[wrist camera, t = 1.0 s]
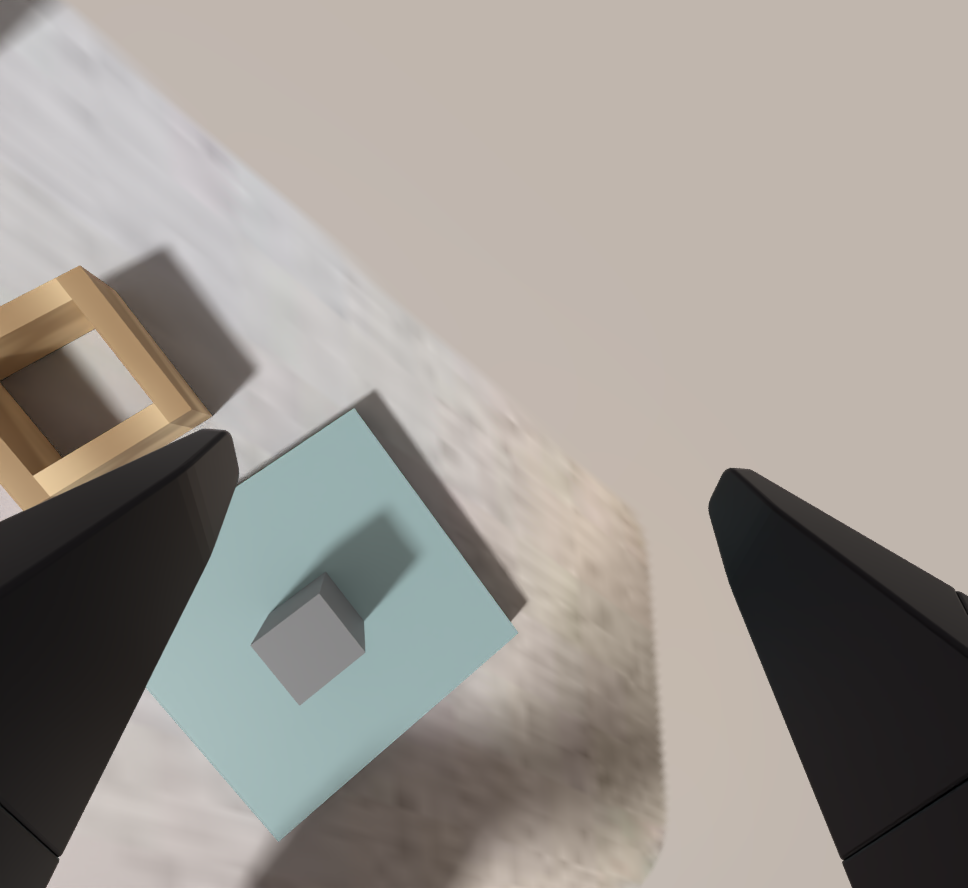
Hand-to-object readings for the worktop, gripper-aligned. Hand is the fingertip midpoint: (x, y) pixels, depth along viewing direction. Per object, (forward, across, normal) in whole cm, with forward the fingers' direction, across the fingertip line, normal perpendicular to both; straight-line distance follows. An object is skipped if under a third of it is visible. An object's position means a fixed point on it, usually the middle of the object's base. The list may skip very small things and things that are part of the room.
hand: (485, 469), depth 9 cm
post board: (+8, +6, +16) cm, 19 cm away
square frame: (+13, +17, +7) cm, 22 cm away
